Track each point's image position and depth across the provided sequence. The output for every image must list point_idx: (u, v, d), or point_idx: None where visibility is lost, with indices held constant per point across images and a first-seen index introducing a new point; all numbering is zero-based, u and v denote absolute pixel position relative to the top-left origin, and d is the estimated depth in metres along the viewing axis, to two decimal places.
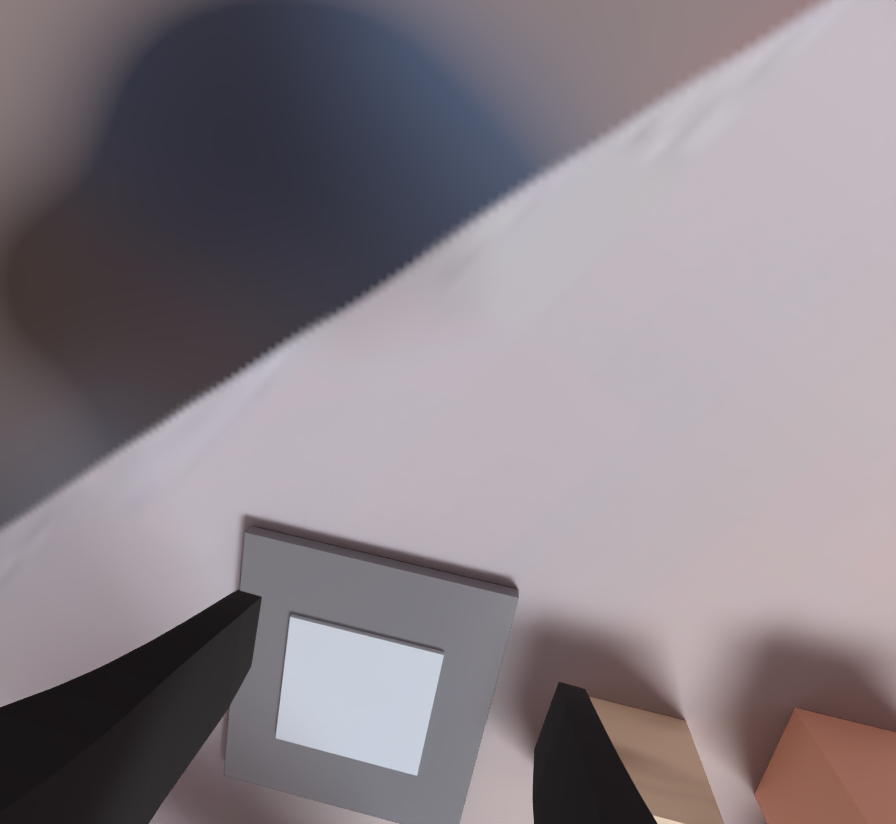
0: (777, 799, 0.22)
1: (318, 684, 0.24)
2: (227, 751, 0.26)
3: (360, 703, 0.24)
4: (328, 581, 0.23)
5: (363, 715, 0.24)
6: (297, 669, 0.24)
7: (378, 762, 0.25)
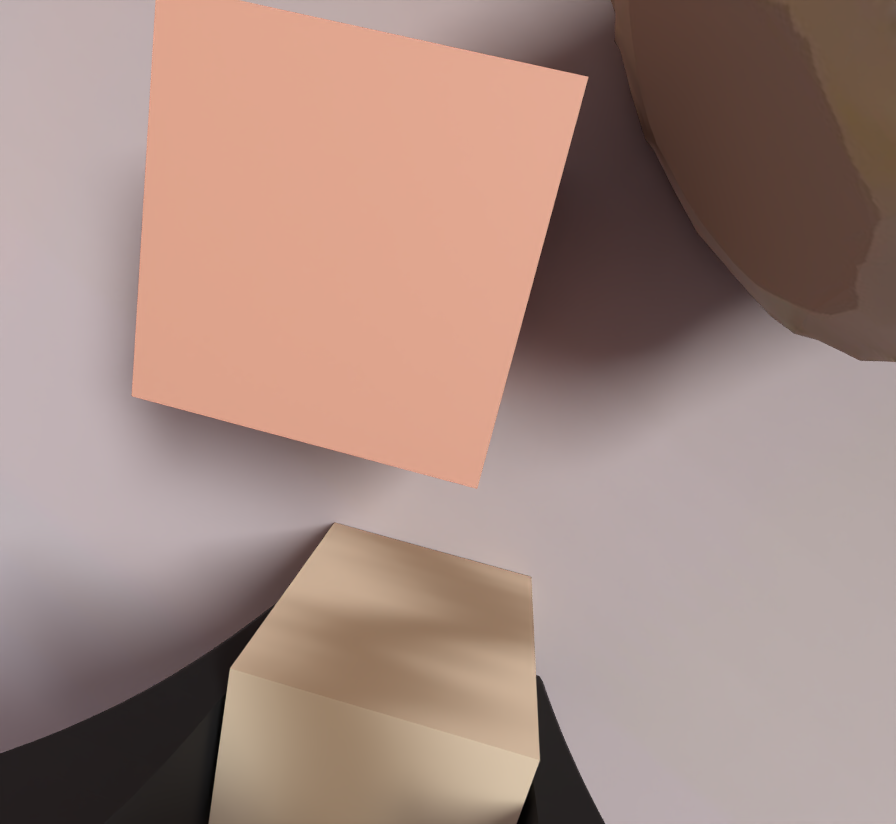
0: None
1: None
2: None
3: None
4: None
5: None
6: None
7: None
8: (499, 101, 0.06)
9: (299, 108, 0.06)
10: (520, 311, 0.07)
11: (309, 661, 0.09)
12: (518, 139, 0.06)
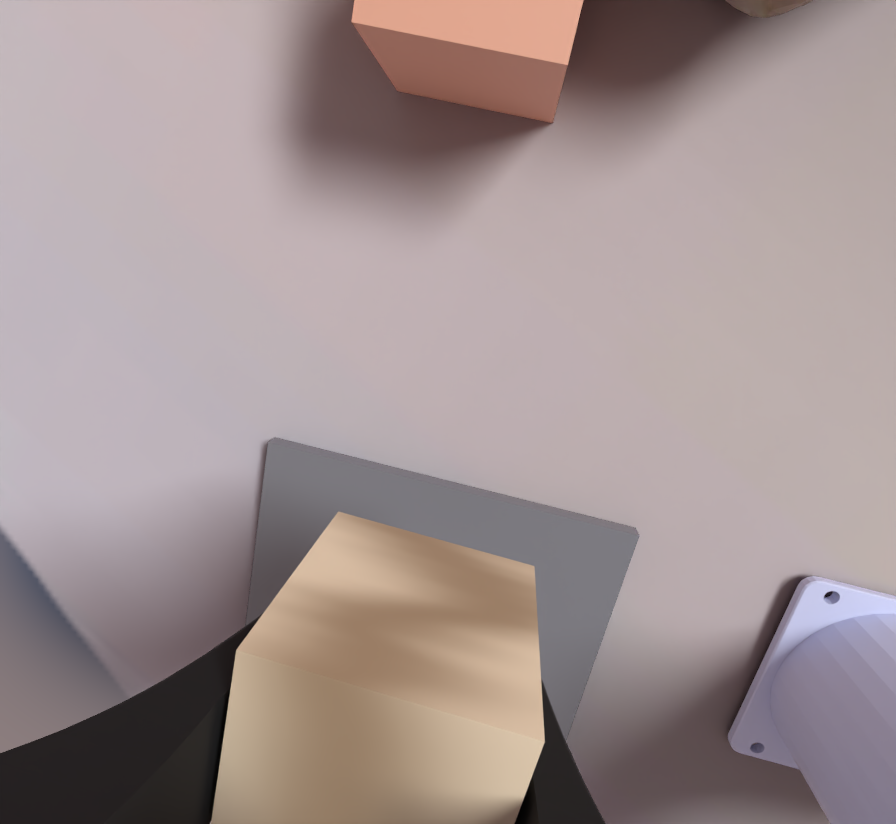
0: (510, 102, 0.15)
1: None
2: None
3: None
4: None
5: None
6: None
7: None
8: None
9: None
10: None
11: (315, 645, 0.09)
12: None
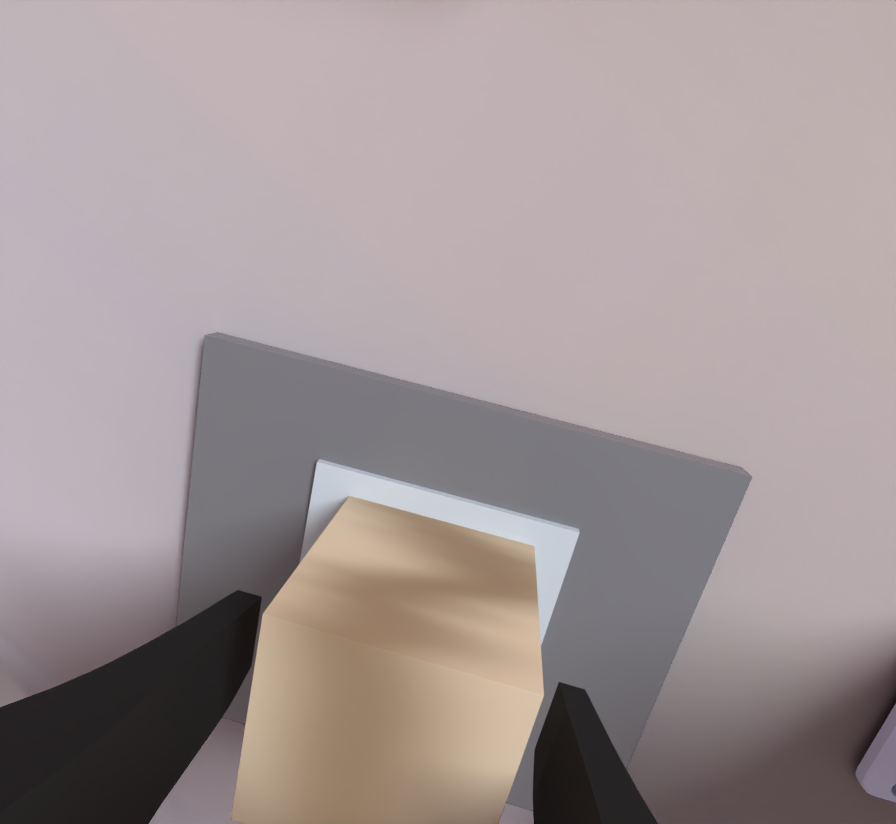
0: None
1: None
2: None
3: None
4: None
5: None
6: None
7: (551, 594, 0.14)
8: None
9: None
10: None
11: (333, 610, 0.10)
12: None
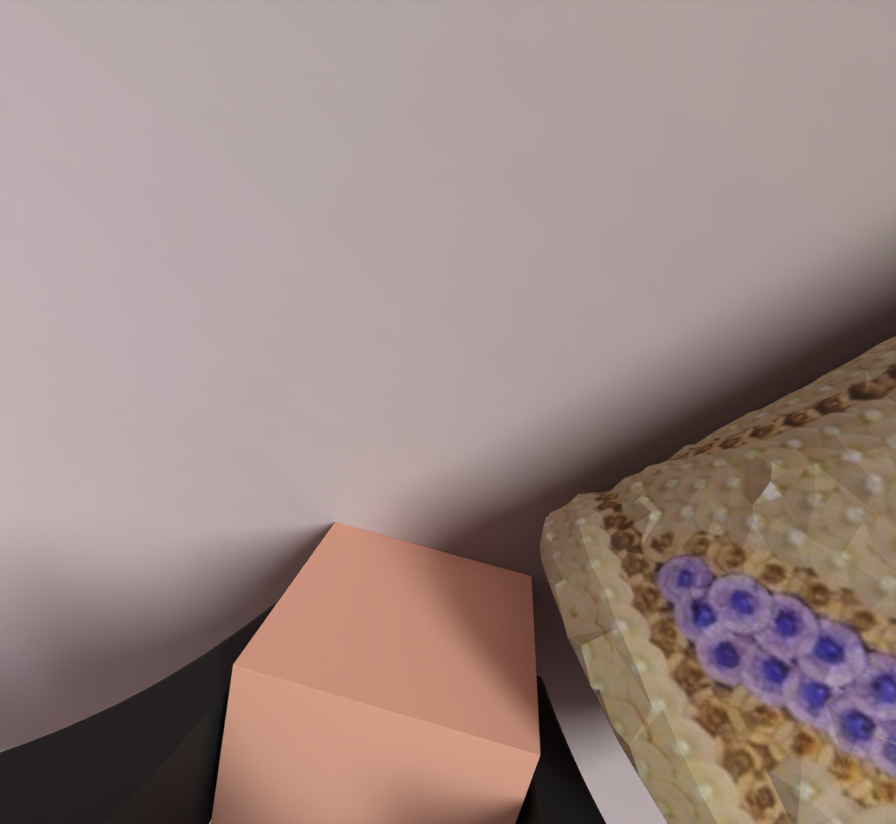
0: None
1: None
2: None
3: None
4: None
5: None
6: None
7: None
8: (477, 759, 0.08)
9: (334, 743, 0.09)
10: None
11: None
12: (492, 780, 0.08)
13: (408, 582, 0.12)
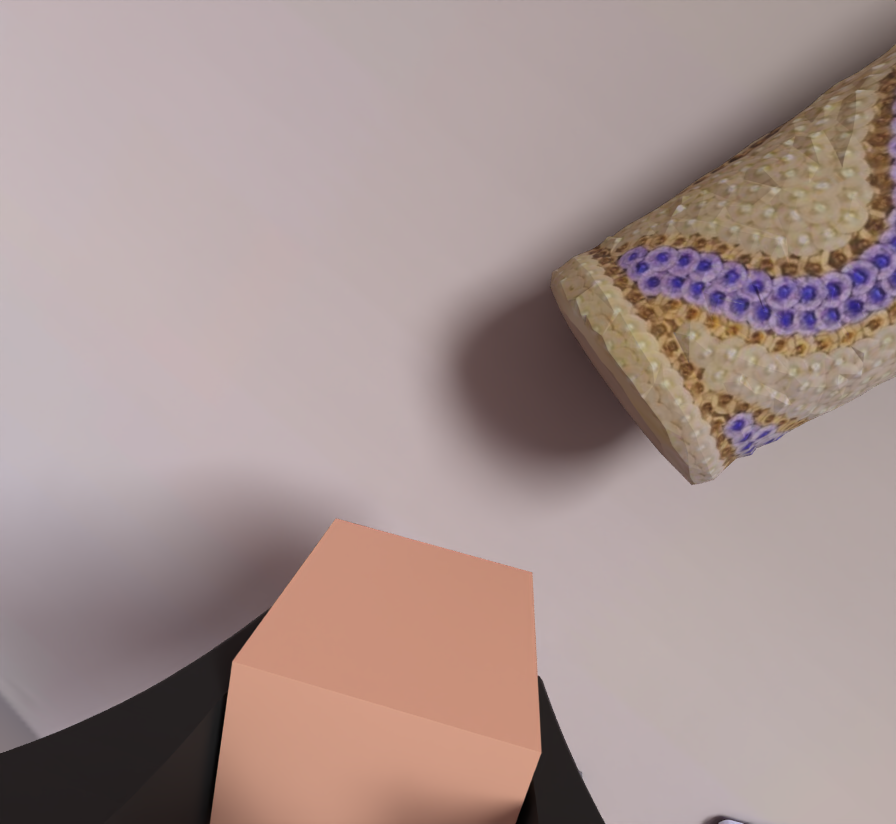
0: None
1: None
2: None
3: None
4: None
5: None
6: None
7: None
8: (478, 756, 0.08)
9: (334, 739, 0.09)
10: None
11: None
12: (492, 777, 0.08)
13: (408, 579, 0.11)
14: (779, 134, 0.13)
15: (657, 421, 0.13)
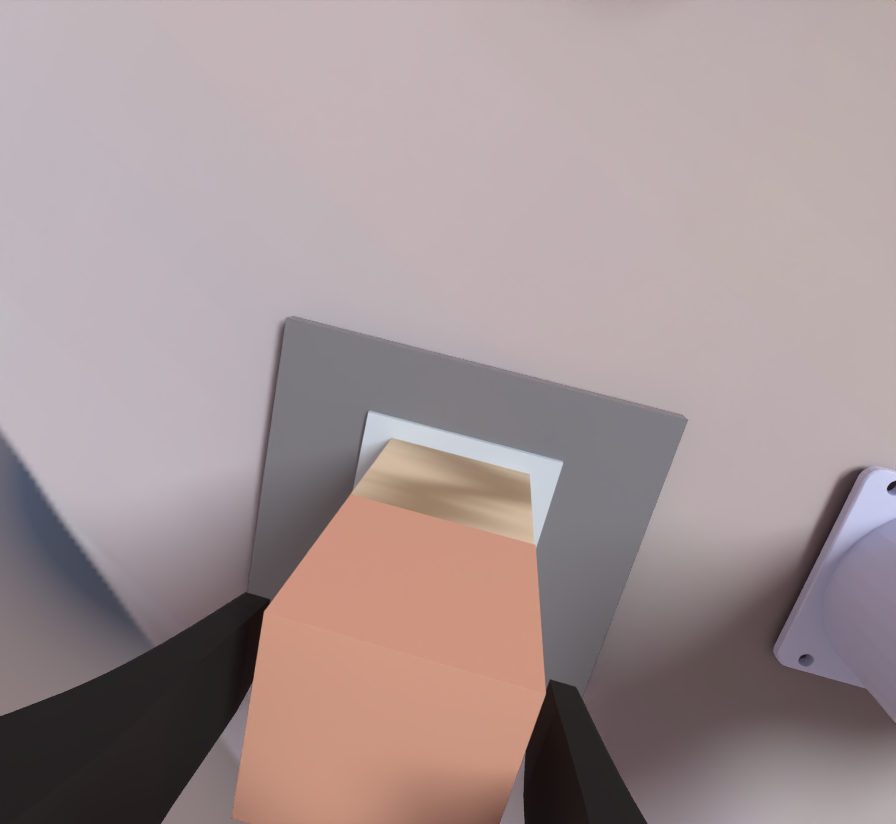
0: None
1: None
2: None
3: None
4: (291, 531, 0.21)
5: None
6: None
7: (542, 511, 0.19)
8: (488, 698, 0.09)
9: (356, 685, 0.09)
10: (503, 802, 0.10)
11: (394, 497, 0.14)
12: (501, 717, 0.09)
13: (420, 548, 0.12)
14: None
15: None
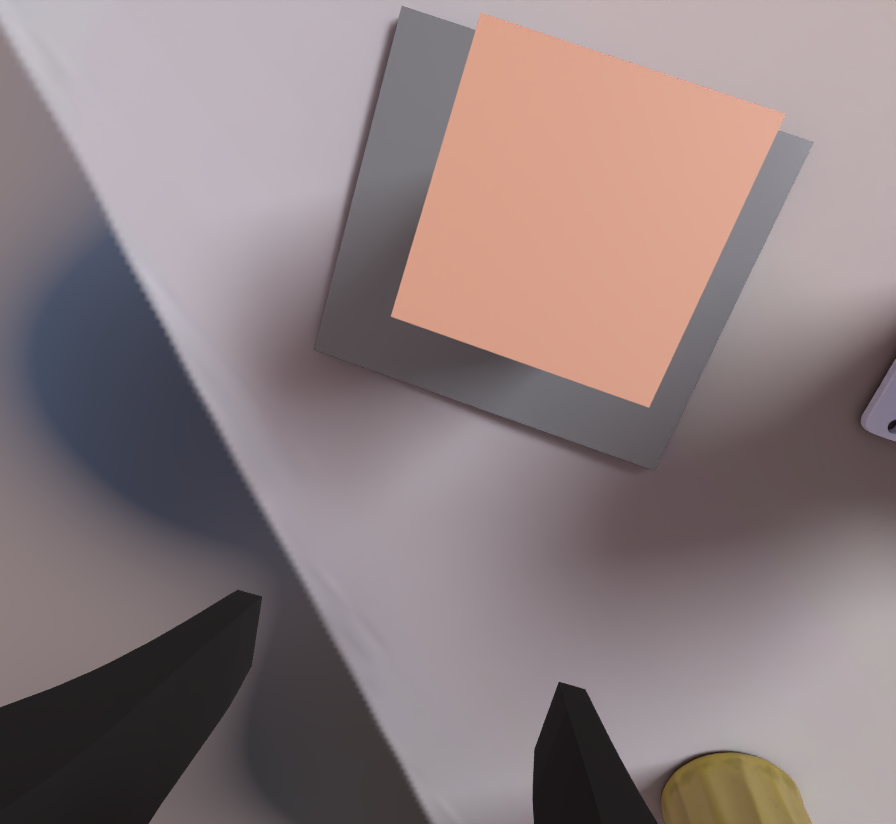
0: None
1: None
2: (615, 454, 0.20)
3: None
4: (375, 263, 0.20)
5: None
6: None
7: None
8: (718, 124, 0.08)
9: (569, 114, 0.09)
10: (705, 276, 0.09)
11: None
12: (728, 152, 0.08)
13: None
14: None
15: None
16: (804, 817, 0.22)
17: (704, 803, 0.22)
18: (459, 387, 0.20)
